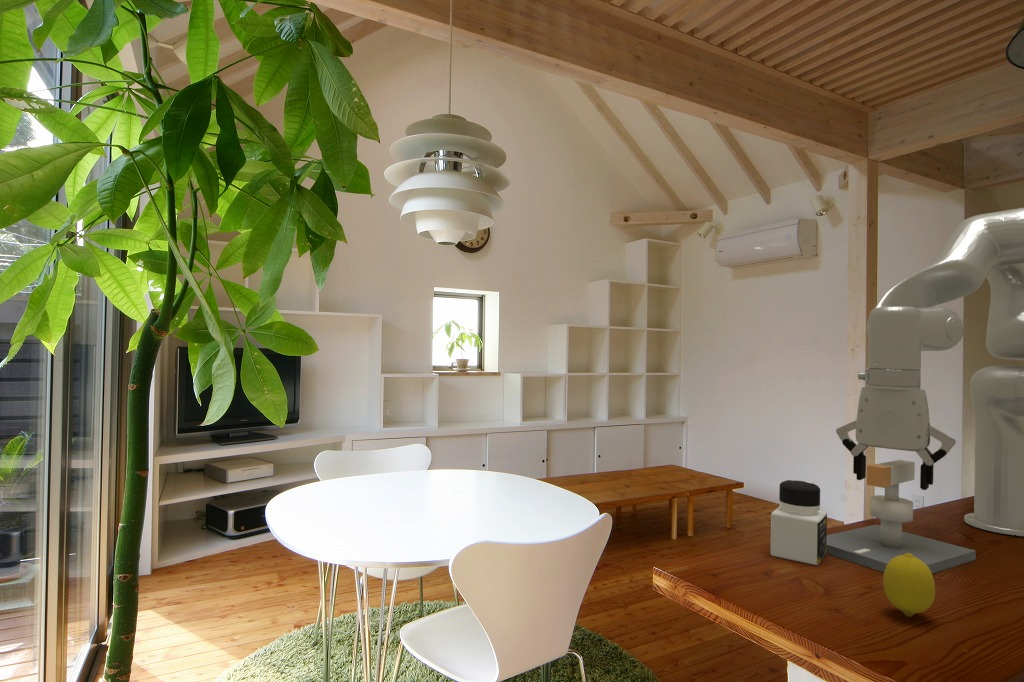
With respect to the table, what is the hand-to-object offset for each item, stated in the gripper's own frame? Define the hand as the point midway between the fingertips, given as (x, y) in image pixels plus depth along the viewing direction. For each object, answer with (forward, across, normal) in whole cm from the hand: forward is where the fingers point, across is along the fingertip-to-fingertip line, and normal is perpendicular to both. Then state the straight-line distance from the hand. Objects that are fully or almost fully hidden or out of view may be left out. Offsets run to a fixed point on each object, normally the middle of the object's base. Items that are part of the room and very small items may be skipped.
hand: (891, 483), depth 100 cm
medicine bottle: (+12, -11, -12) cm, 20 cm away
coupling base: (+12, 0, 0) cm, 12 cm away
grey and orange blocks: (+6, 0, 0) cm, 6 cm away
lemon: (+12, +7, -26) cm, 30 cm away
